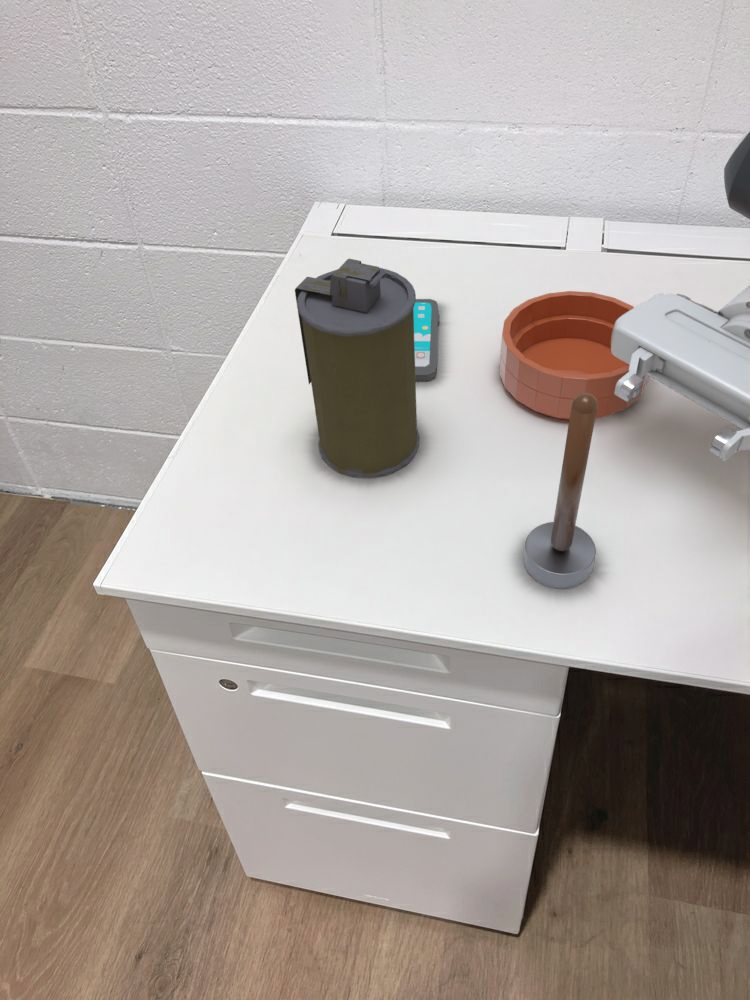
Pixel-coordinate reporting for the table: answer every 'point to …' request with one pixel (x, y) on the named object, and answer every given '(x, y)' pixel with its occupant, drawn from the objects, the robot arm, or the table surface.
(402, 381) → the canister
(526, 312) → the bowl
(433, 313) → the smartphone
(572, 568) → the peg on round base
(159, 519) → the table surface
